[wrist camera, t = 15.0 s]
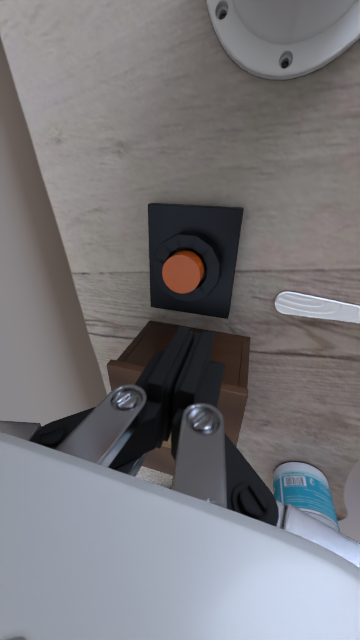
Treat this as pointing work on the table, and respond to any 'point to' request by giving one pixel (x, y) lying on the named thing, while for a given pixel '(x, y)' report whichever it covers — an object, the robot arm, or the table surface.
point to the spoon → (316, 307)
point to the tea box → (224, 345)
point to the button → (183, 271)
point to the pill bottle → (305, 491)
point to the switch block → (204, 240)
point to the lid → (161, 459)
